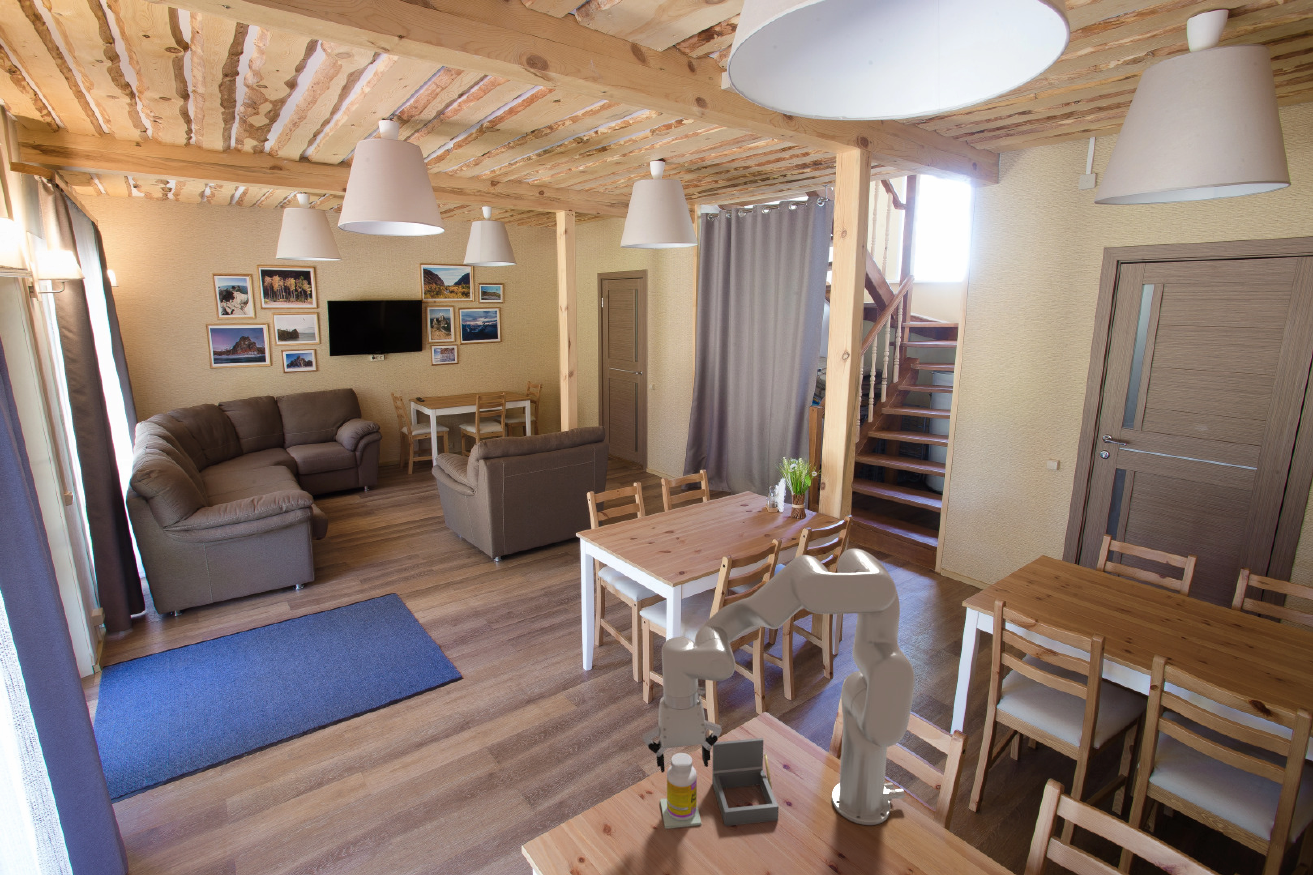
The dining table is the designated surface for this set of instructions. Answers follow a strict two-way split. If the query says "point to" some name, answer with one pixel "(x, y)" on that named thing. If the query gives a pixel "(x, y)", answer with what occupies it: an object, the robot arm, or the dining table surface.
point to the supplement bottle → (681, 787)
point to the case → (742, 780)
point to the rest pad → (674, 823)
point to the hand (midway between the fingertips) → (683, 765)
